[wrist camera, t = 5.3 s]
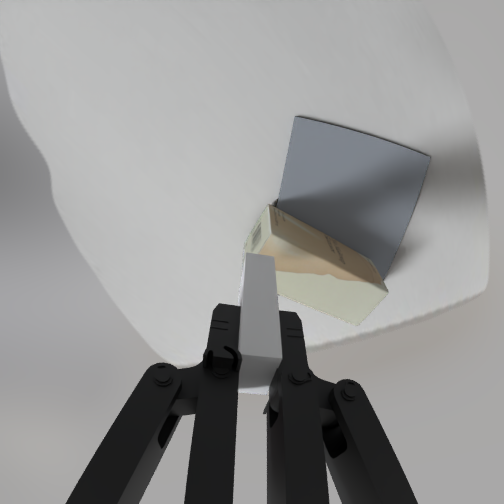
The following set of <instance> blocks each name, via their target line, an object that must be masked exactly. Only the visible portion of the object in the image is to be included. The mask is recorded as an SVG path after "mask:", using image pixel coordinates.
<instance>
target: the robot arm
mask: <svg viewBox="0 0 504 504" xmlns="http://www.w3.org/2000/svg"><path fill="white" fill-rule="evenodd" d="M268 391H269V401H268V402H267V405H266V407H265V409H264V412H263V414H266V412H267V504H329V494H328V483H327V471H326V463H327V466H328V468H329V471H330V474H331V476H332V479H333V482H334V484H335V487H336V489H337V492H338V495H339V497H340V499H341V502H342V504H418V503H417V500H416V498H415V496H414V493H413V491H412V489H411V487H410V485H409V482H408V480H407V478H406V476H405V474H404V471H403V469H402V467H401V465H400V463H399V461H398V459H397V457H396V454H395V452H394V451H393V448H392V446H391V444H390V442H389V440H388V438H387V436H386V434H385V432H384V430H383V428H382V426H381V424H380V422H379V419H378V418H377V416H376V414H375V411H374V410H373V408H372V406H371V404H370V402H369V400H368V398H367V396H366V394H365V392H364V390H363V388H362V387H361V386H360V384H358V383H357V382H355V381H353V380H350V379H343V380H341V381H339V382H337V384H334V383H331V382H328V381H324V380H322V379H320V378H318V377H317V376H315V375H314V374H313V372H312V371H311V370H310V369H309V367H308V362H307V355H306V348H305V341H304V335H303V328H302V322H301V319H300V318H299V316H298V315H297V313H296V312H288V311H279V307H278V294H277V283H276V271H275V260H274V256H268V255H261V254H254V253H247V252H246V255H245V261H244V266H243V272H242V278H241V283H240V289H239V298H238V306H235V305H227V304H221V303H219V304H218V305H217V306H216V308H215V309H214V310H213V314H212V320H211V325H210V331H209V337H208V343H207V348H206V350H205V352H204V354H203V361H202V362H201V363H199V364H198V365H196V366H194V367H190V368H184V369H177V368H176V367H175V366H173V365H171V364H168V363H156V364H154V365H152V366H150V367H149V368H148V369H147V370H146V372H145V373H144V375H143V377H142V378H141V380H140V381H139V383H138V385H137V386H136V388H135V389H134V391H133V392H132V394H131V396H130V397H129V399H128V400H127V402H126V403H125V405H124V407H123V408H122V410H121V411H120V413H119V415H118V416H117V418H116V420H115V421H114V423H113V425H112V426H111V428H110V429H109V431H108V433H107V434H106V436H105V437H104V439H103V441H102V442H101V444H100V446H99V447H98V449H97V451H96V452H95V454H94V456H93V458H92V459H91V461H90V462H89V464H88V466H87V467H86V469H85V471H84V473H83V474H82V476H81V478H80V479H79V481H78V483H77V484H76V486H75V488H74V490H73V492H72V493H71V495H70V497H69V498H68V500H67V502H66V504H139V502H140V500H141V498H142V496H143V494H144V492H145V490H146V488H147V486H148V484H149V482H150V480H151V478H152V476H153V474H154V472H155V470H156V468H157V466H158V464H159V462H160V460H161V458H162V456H163V454H164V452H165V450H166V448H167V446H168V444H169V442H170V440H171V438H172V435H173V433H174V431H175V429H176V427H177V425H178V423H179V421H180V419H181V417H182V416H183V415H190V414H195V421H194V429H193V436H192V444H191V451H190V459H189V467H188V475H187V483H186V493H185V501H184V504H233V487H234V465H235V444H236V443H235V442H236V424H237V405H238V392H241V393H252V394H264V395H267V393H268Z"/></svg>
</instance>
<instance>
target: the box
mask: <svg viewBox="0 0 504 504" xmlns="http://www.w3.org/2000/svg"><path fill="white" fill-rule="evenodd" d="M246 252H247V253H254V254H261V255H268V256H274V260H275V271H276V283H277V294H279V295H281V296H283V297H286V298H288V299H291V300H293V301H295V302H298V303H300V304H303V305H305V306H307V307H310V308H312V309H315V310H317V311H320V312H322V313H325V314H327V315H330V316H332V317H335V318H337V319H340V320H342V321H345V322H347V323H350V324H353V325H355V326H358V325H359V324H360V323H361V322H362V321H363V320H364V319H365V318H366V317H367V316H368V315H369V314H370V313H371V312H372V311H373V310H374V309H375V308H376V307H377V306H378V304H379V303H380V302H381V301H382V300H383V299H384V298H385V297H386V295H387V294H388V289H387V287H386V285H385V283H384V282H383V280H382V278H381V276H380V274H379V272H378V270H377V269H376V267H375V265H374V264H373V262H372V261H371V260H370V259H369V258H367V257H365V256H363V255H362V254H360V253H358V252H356V251H354V250H353V249H351V248H349V247H347V246H346V245H344V244H342V243H340V242H339V241H337V240H335V239H333V238H332V237H330V236H328V235H326V234H324V233H323V232H321V231H319V230H317V229H315V228H313V227H311V226H310V225H308V224H306V223H304V222H302V221H300V220H298V219H297V218H295V217H293V216H291V215H289V214H287V213H285V212H283V211H281V210H280V209H278V208H276V207H274V206H272V205H270V204H268V205H267V207H266V209H265V210H264V212H263V213H262V215H261V216H260V218H259V220H258V221H257V223H256V225H255V226H254V228H253V230H252V231H251V233H250V235H249V236H248V238H247V240H246V242H245V243H244V251H243V263H242V272H243V266H244V261H245V255H246ZM241 278H242V277H241Z"/></svg>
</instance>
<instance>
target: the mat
mask: <svg viewBox="0 0 504 504" xmlns="http://www.w3.org/2000/svg"><path fill="white" fill-rule="evenodd" d="M430 158H431V157H429V156H426V155H424V154H421V153H419V152H416V151H414V150H411V149H408V148H406V147H403V146H400V145H397V144H394V143H392V142H389V141H386V140H383V139H380V138H376V137H373V136H370V135H367V134H364V133H360V132H357V131H353V130H350V129H346V128H342V127H339V126H335V125H331V124H327V123H323V122H319V121H314V120H310V119H305V118H301V117H296V116H295V118H294V123H293V129H292V134H291V139H290V144H289V149H288V154H287V159H286V164H285V169H284V174H283V179H282V184H281V188H280V193H279V198H278V203H277V208H278V209H280V210H281V211H283V212H285V213H287V214H289V215H291V216H293V217H295V218H297V219H298V220H300V221H302V222H304V223H306V224H308V225H310V226H311V227H313V228H315V229H317V230H319V231H321V232H323V233H324V234H326V235H328V236H330V237H332V238H333V239H335V240H337V241H339V242H340V243H342V244H344V245H346V246H347V247H349V248H351V249H353V250H354V251H356V252H358V253H360V254H362V255H363V256H365V257H367V258H369V259H370V260H371V261H372V262H373V264H374V265H375V267H376V269H377V270H378V272H379V274H380V276H381V278H382V280H384V278H385V276H386V274H387V272H388V270H389V267H390V265H391V263H392V261H393V259H394V256H395V254H396V252H397V250H398V247H399V245H400V242H401V240H402V238H403V235H404V233H405V230H406V228H407V225H408V223H409V220H410V218H411V215H412V212H413V210H414V207H415V204H416V201H417V199H418V196H419V193H420V190H421V187H422V184H423V181H424V178H425V175H426V171H427V168H428V165H429V161H430ZM278 295H279V294H278Z"/></svg>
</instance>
